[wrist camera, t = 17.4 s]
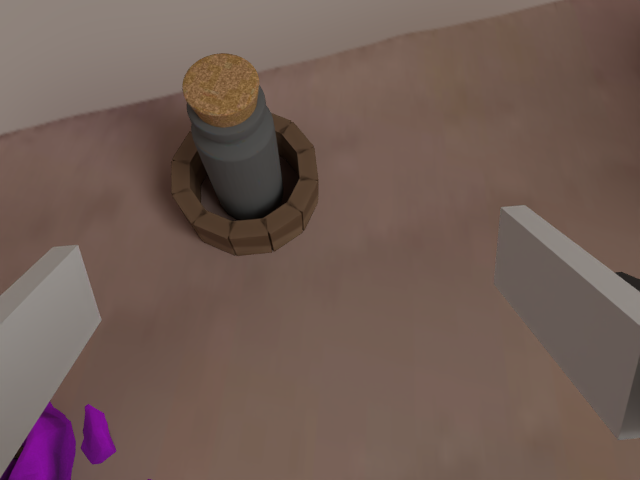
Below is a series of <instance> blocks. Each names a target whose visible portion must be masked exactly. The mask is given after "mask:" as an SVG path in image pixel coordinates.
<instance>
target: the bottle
mask: <svg viewBox="0 0 640 480" xmlns="http://www.w3.org/2000/svg"><path fill="white" fill-rule="evenodd" d="M183 94H184V97H185V99H186V101H187V112H188V115H189V118H190V120H191V123H192V126H191V132H192V137H193V141H194V143H195V146H196V148H197V151H198V153H199V155H200V158H201V160H202V162H203V165H204V167H205V169H206V172H207V174H208V176H209V179H210V181H211V183H212V185H213V188H214V190H215V192H216V195H217V197H218V199H219V201H220V203H221V205H222V207H223V208H224V210H225V211H226V212H227V213H228V214H229V215H231V216H232V217H234V218H236V219H238V220H251V219H261V218H264V217H266V216H267V215H269V214H270V213H272V212H273V211H275V210H276V209H277V208H278V206H279V205H280V202H281V200H282V196H283V184H282V176H281V169H280V161H279V154H278V147H277V140H276V133H275V127H274V121H273V117H272V114H271V112H270V110H269V109H268V107H267V106H266V101H265V96H264V93H263V90H262V89H261V87H260V85H259V77H258V74H257V72H256V70H255V68H254V67H253V66H252V65H251V64H250V63H249V62H248V61H247V60H245V59H243V58H241V57H239V56H237V55H232V54H223V53H221V54H214V55H210V56H207V57H204V58H202V59H200V60H199V61H197V62H196V63H195V64H193V65H192V66H191V67H190V69H189V70H188V71H187V73H186V75H185V77H184V80H183Z"/></svg>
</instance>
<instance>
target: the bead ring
mask: <svg viewBox="0 0 640 480" xmlns="http://www.w3.org/2000/svg"><path fill="white" fill-rule="evenodd" d="M271 114H272V113H271ZM272 117H273V121H274V127H275V133H276V140H277V147H278V154H279V156H282V157H284V158H285V160H286V161H287V162H288V163H289V164H290V166H291V167H292V168H293V169H294V171H295V172H296V173H297V174H298V175H299V181H298V183H297V185H296V186H295V188H294V190H293V192H292V194H291V196H290V198H289V200H288V202H287V203H285V204H284V205H282V206H281V207H279V208H278V209H276V210H275V211H273V212H272V213H270V214H269V215H267V216H266V217H264V218H261V219H251V220H241V221H230V220H228V219H226V218H223V217H221V216H218V215H216V214H214V213H211V212H209V211H206V210H205V209H204V207H203V206H202V204H201V187H200V185H201V183H202V182H203V180H204V178H205V177H206V175H207V172H206V169H205V167H204V165H203V162H202V160H201V158H200V155H199V153H198V151H197V148H196V146H195V143H194V141H193V137H192V132H189V133H188V135H187V136H186V138H185V139H184V141H183V143H182V144H181V146H180V147H179V149H178V151H177V152H176V154H175V155H174V157H173V159H172V160H173V161H171V190H172V196H173V198H174V199H175V201H176V202H177V204H178V206H179V207H180V209H181V210H182V212H183V214H184V215H185V217H186V218H187V219H188V221H189V222H190V224H191V225H192V227H193V228H194V230H195V231H196V232H197V234H198V235H199V237H200V238H201V240H202V241H204V243H207V244H209V245H211V246H214V247H216V248H218V249H221V250H223V251H226V252H228V253H230V254H233V255H236V254H237V256H241V255H251V254H261V253H270V252H272V249H273V250H274V251H276V250H277V249H279V248H280V247H282V246H283V245H285V244H286V243H288V242H289V241H291V240H292V239H294V238H295V237H297V236H298V235H300V234H301V233H303V231H302V230H305V228H306V226H307V224H308V222H309V220H310V218H311V215H312V213H313V211H314V209H315V207H316V205H317V203H318V173H317V165H316V157H315V149H314V146H313V145H312V144H311V143H310V141H309V140H308V139H307V138H306V137H305V135H304V134H303V133H302V132H301V131H300V130H299V128H298V127H297V126H296V125H295V124H294V122H292V123H291V120H288V119H285V118H283V117H280V116H278V115H275V114H272Z"/></svg>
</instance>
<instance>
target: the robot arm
mask: <svg viewBox="0 0 640 480" xmlns="http://www.w3.org/2000/svg"><path fill="white" fill-rule="evenodd" d="M494 285H495V286H496V287H497V289H498V290H499V291H500V292H501V294H502V295H503V296H504V297H505V299H506V300H507V301H508V302H509V304H510V305H511V306H512V307H513V309H514V310H515V311H516V312H517V314H518V315H519V316H520V317H521V319H522V320H523V321H524V323H525V324H526V325H527V326H528V328H529V329H530V330H531V331H532V333H533V334H534V335H535V336H536V338H537V339H538V340H539V341H540V343H541V344H542V345H543V346H544V348H545V349H546V350H547V351H548V353H549V354H550V355H551V356H552V358H553V359H554V360H555V361H556V363H557V364H558V365H559V366H560V368H561V369H562V370H563V371H564V373H565V374H566V375H567V376H568V378H569V379H570V380H571V382H572V383H573V384H574V385H575V387H576V388H577V389H578V390H579V392H580V393H581V394H582V395H583V397H584V398H585V399H586V400H587V402H588V403H589V404H590V405H591V407H592V408H593V409H594V410H595V412H596V413H597V414H598V415H599V417H600V418H601V419H602V420H603V422H604V423H605V424H606V425H607V427H608V428H609V429H610V430H611V432H612V433H613V434H614V435H615V437H616V438H617V439H618V440H623V439H633V438H640V279H637V278H635V277H632V276H630V275H628V274H625V273H623V272H616V273H614V272H613V271H611V270H610V269H609V268H608V267H606V266H605V265H604V264H602V263H601V262H600V261H598V260H597V259H596V258H594V257H593V256H592V255H590V254H589V253H588V252H586V251H585V250H584V249H582V248H581V247H580V246H578V245H577V244H576V243H574V242H573V241H572V240H570V239H569V238H568V237H566V236H565V235H564V234H562V233H561V232H560V231H558V230H557V229H556V228H555V227H553V226H552V225H551V224H549V223H548V222H547V221H545V220H544V219H543V218H541V217H540V216H539V215H537V214H536V213H535V212H533V211H532V210H531V209H529V208H528V207H527V206H525V205H521V206H509V207H501V210H500V221H499V232H498V243H497V254H496V265H495V276H494ZM100 322H101V317H100V314H99V311H98V307H97V304H96V301H95V298H94V295H93V291H92V288H91V285H90V282H89V279H88V275H87V272H86V269H85V266H84V262H83V259H82V256H81V253H80V250H79V246H78V245H70V246H59V247H52V248H51V249H50V250H49V251H48V252H47V253H46V254H45V255H44V256H43V257H42V258H40V259H39V260H38V261H37V262H36V263H35V264H34V265H33V266H32V267H31V268H30V269H29V270H28V271H26V272H25V273H24V274H23V275H22V276H21V277H20V278H19V279H18V280H17V281H16V282H15V283H13V284H12V285H11V286H10V287H9V288H8V289H7V290H6V291H5V292H4V293H3V294H2V295H1V296H0V478H1V476H2V475H3V473H4V471H5V470H6V468H7V467H8V465H9V464H10V462H11V461H12V459H13V457H14V456H15V454H16V453H17V451H18V450H19V448H20V447H21V445H22V443H23V442H24V440H25V439H26V437H27V436H28V434H29V433H30V431H31V429H32V428H33V426H34V425H35V423H36V422H37V420H38V419H39V417H40V415H41V414H42V412H43V411H44V409H45V408H46V406H47V404H48V403H49V401H50V400H51V398H52V397H53V395H54V394H55V392H56V390H57V389H58V387H59V386H60V384H61V383H62V381H63V380H64V378H65V376H66V375H67V373H68V372H69V370H70V369H71V367H72V366H73V364H74V362H75V361H76V359H77V358H78V356H79V355H80V353H81V352H82V350H83V348H84V347H85V345H86V344H87V342H88V341H89V339H90V337H91V336H92V334H93V333H94V331H95V330H96V328H97V327H98V325H99V323H100Z"/></svg>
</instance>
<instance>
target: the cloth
mask: <svg viewBox="0 0 640 480" xmlns="http://www.w3.org/2000/svg"><path fill="white" fill-rule="evenodd" d="M83 434H84V440H83V443H82V446H81V450H82V451H83V452H84V454H85V455H86V457H87V458H88V460H89V461H90V462H91V463H92V464H100V463H102V462H103V461H105V460H106V459H107V458H108V457H110V456H111V455H112V454H113V453H115V452H116V449H115V446H114V444H113V442H112V439H111V437H110V434H109V430H108V424H107V421H106V419H105V416H104V413H102V412H101V411H99V410H97V409H95V408H94V407H92V406H91V405H89V404H88V405H86V406H85V420H84V428H83ZM75 445H76V441H75V437H74V433H73V429H72V425H71V421H69V420H68V419H67V418H66V416H65V415H64V414H63V413H61V412H60V411H59V410H57V409H56V408H54V407H53V406H52V404H51V403H50V401H49V403H48V404H47V406H46V408H45V409H44V411H43V412H42V414H41V415H40V417H39V419H38V420H37V422H36V423H35V425H34V426H33V428H32V429H31V431H30V433H29V434H28V436H27V437H26V439H25V440H24V442H23V443H22V445H21V446H22V447H24V449H23V451H22V453H21V454H20V456H19V458H15V457H13V459H12V461H11V462H10V464H9V465H8V467H7V468H6V470H5V471H4V473H3V475H2V476H1V478H0V480H71V472H72V467H73V462H74V457H75ZM148 480H151V479H148Z"/></svg>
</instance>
